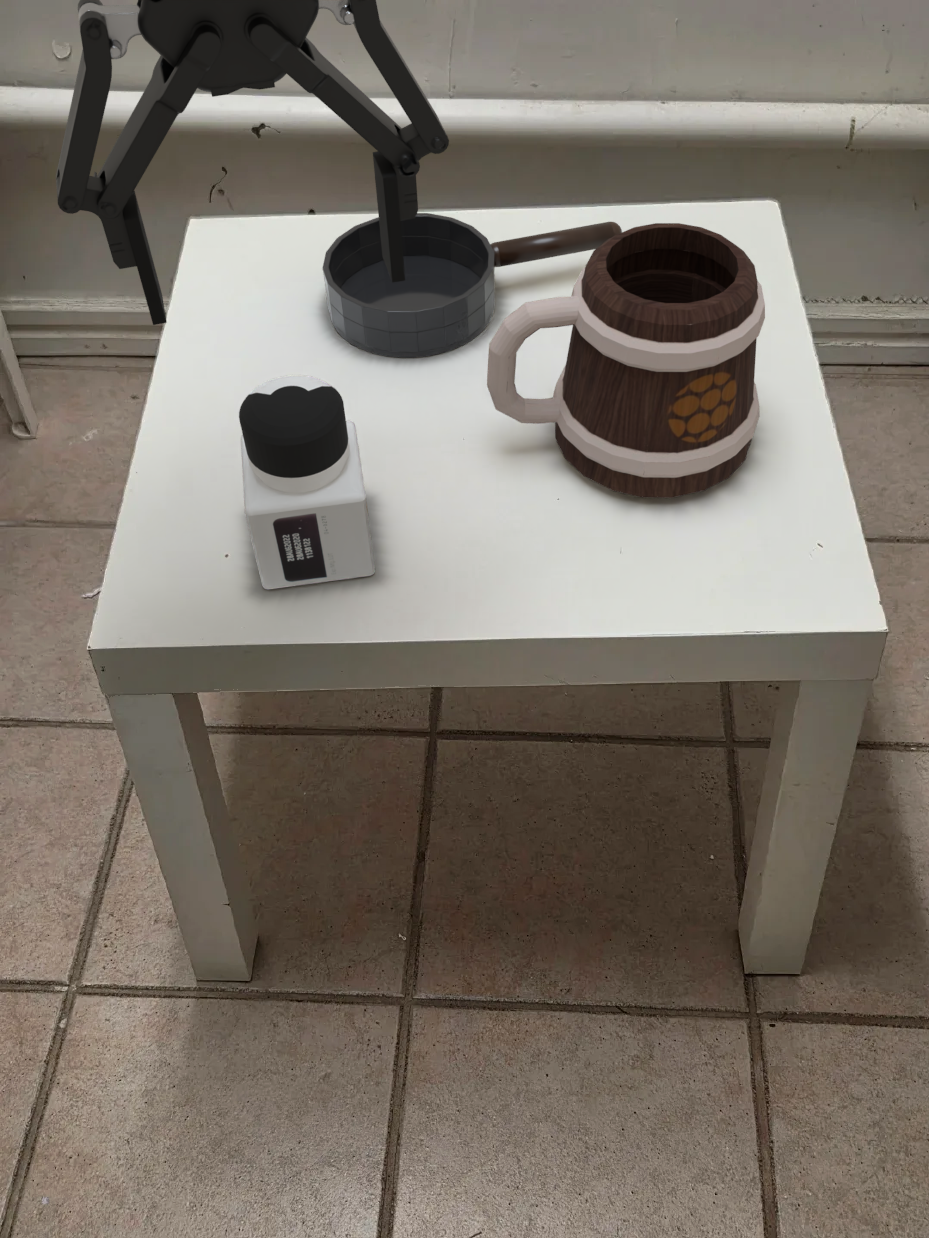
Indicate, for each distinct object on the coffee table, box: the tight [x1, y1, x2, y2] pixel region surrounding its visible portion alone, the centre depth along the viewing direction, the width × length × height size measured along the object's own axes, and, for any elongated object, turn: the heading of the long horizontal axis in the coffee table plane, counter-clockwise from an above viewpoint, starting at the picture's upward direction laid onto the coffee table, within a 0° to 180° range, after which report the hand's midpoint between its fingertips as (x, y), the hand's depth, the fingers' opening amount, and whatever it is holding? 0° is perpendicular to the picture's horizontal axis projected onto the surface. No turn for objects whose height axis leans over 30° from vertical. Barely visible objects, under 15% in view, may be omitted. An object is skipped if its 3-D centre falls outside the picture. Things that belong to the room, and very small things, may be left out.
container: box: [238, 374, 376, 590], centre depth 79 cm, size 8×8×13 cm
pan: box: [322, 212, 496, 359], centre depth 99 cm, size 14×14×4 cm
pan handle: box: [490, 221, 623, 268], centre depth 100 cm, size 12×2×2 cm, turn 105°
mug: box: [486, 222, 766, 499], centre depth 84 cm, size 20×15×15 cm
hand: (277, 289), depth 68 cm, fingers open, 13 cm apart
